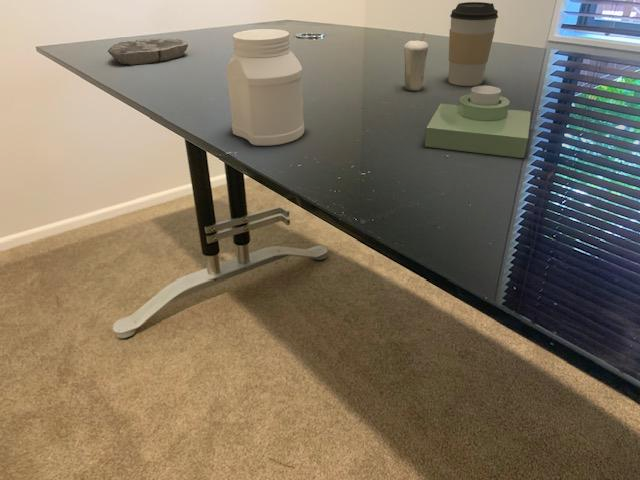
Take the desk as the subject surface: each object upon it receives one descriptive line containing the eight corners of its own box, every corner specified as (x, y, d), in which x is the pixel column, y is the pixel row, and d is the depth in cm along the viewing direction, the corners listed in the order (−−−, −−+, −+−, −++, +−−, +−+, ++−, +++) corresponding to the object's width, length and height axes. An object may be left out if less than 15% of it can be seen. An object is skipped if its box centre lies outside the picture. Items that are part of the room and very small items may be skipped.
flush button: (500, 100, 78) (502, 86, 77) (497, 108, 75) (500, 94, 74) (471, 97, 80) (473, 84, 79) (467, 105, 76) (469, 92, 75)
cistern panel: (527, 128, 81) (533, 97, 78) (524, 158, 71) (531, 124, 68) (439, 119, 85) (442, 90, 82) (424, 146, 75) (427, 113, 72)
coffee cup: (434, 81, 105) (442, 2, 97) (459, 73, 110) (469, -3, 102) (471, 90, 99) (482, 6, 91) (496, 81, 104) (509, 1, 96)
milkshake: (430, 86, 102) (435, 34, 96) (418, 93, 98) (423, 38, 93) (409, 83, 104) (413, 31, 99) (397, 89, 100) (401, 36, 95)
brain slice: (169, 46, 140) (167, 35, 139) (197, 56, 129) (195, 44, 127) (98, 57, 130) (95, 45, 129) (121, 69, 119) (118, 56, 117)
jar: (313, 135, 80) (311, 35, 72) (262, 150, 75) (253, 44, 67) (274, 117, 88) (267, 25, 80) (225, 130, 83) (213, 32, 75)
